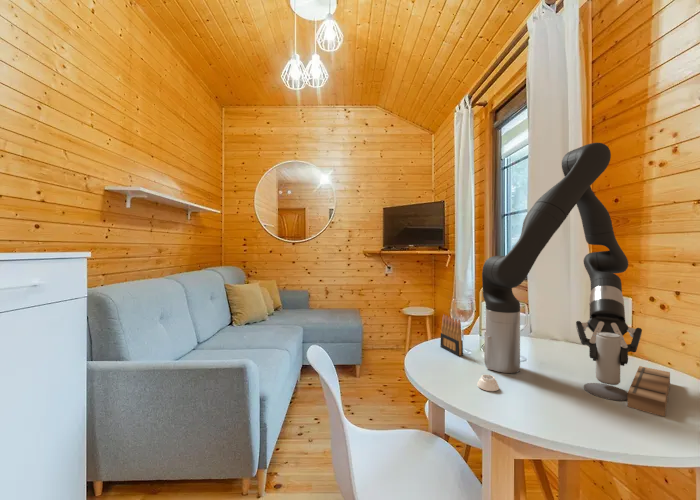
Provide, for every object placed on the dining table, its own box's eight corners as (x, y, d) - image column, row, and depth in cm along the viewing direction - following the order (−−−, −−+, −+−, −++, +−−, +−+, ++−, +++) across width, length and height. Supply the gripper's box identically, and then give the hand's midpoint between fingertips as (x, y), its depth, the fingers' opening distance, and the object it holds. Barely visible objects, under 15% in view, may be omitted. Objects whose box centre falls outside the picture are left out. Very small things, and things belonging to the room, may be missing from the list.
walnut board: (664, 416, 67) (664, 402, 67) (627, 406, 72) (627, 392, 72) (669, 383, 84) (670, 371, 84) (639, 376, 88) (639, 365, 88)
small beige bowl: (481, 382, 85) (474, 388, 81) (481, 371, 85) (474, 377, 81) (501, 387, 82) (495, 394, 78) (501, 376, 82) (495, 382, 78)
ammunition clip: (463, 356, 105) (463, 319, 105) (458, 356, 105) (458, 320, 105) (444, 346, 116) (444, 313, 115) (440, 346, 115) (440, 313, 115)
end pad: (594, 398, 76) (594, 396, 76) (577, 382, 84) (577, 381, 84) (639, 402, 73) (639, 401, 73) (617, 386, 82) (617, 384, 82)
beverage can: (591, 378, 83) (591, 332, 83) (608, 377, 83) (608, 331, 83) (607, 386, 78) (607, 337, 78) (625, 385, 78) (626, 336, 78)
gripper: (574, 295, 91) (572, 348, 81) (642, 300, 82) (649, 360, 73) (575, 310, 95) (573, 363, 85) (639, 317, 86) (646, 376, 77)
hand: (608, 361), depth 79 cm, fingers closed on beverage can, 4 cm apart
